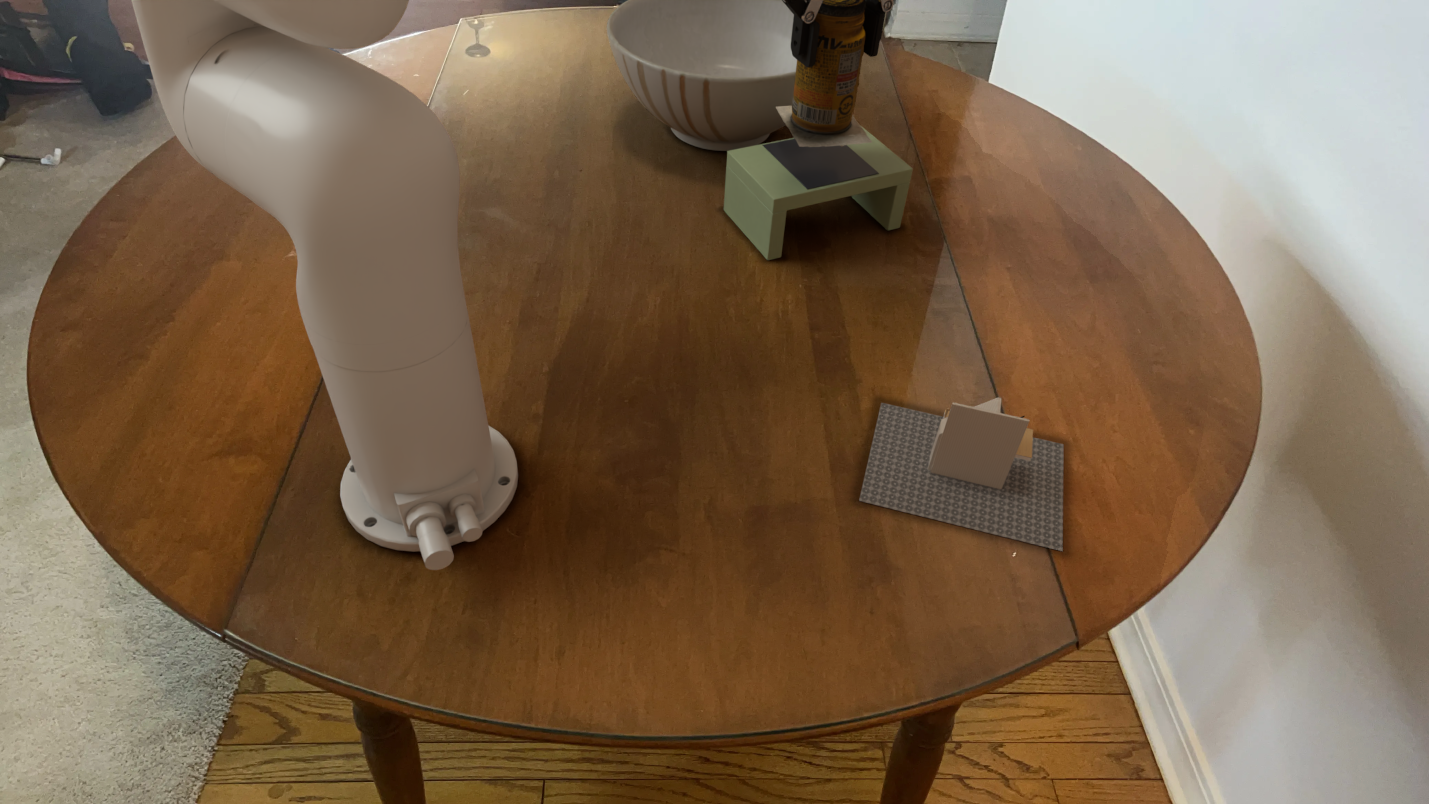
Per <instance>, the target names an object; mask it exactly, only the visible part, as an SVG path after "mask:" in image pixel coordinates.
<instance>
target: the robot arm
mask: <svg viewBox="0 0 1429 804" xmlns="http://www.w3.org/2000/svg"><path fill="white" fill-rule="evenodd" d="M130 1H131V5H132V8H133V12H134V16H135V19H136V23H137V27H138V30H139V33H140V37H141V40H142V43H143V48H144V51H145V54H146V58H147V61H148V64H149V68H150V72H151V76H152V79H153V83H154V86H155V89H156V92H157V95H158V99H159V101H160V103H161V106H162V110H163V112H164V114H165V116H166V119H167V121H168V123H169V125H170V128H171V129H172V131H173V133H174V135H175V136H176V139H177V140H178V142H179V143H180V144H181V145H182V147H183V148H184V150H185V151H186V152H187V153H188V154H189V155H190V156H191V157H192V158H193V159H194V160H195V161H196V162H197V163H198V164H199V165H200V166H202V167H203V168H204V169H205V170H206V171H208V172H209V173H210V174H212V175H214V176H215V177H216V178H217V179H218V180H220V181H222V182H223V183H224V184H226V185H228V186H229V187H231V188H232V189H233V190H235V191H237V192H238V193H240V194H241V195H242V196H244V197H245V198H247V199H249V200H250V201H251V202H252V203H254V205H256V206H257V207H259V208H260V209H262V210H263V211H265V212H266V213H268V214H269V215H271V216H272V217H273V218H274V219H276V220H277V222H278V223H280V225H282V227H283V228H285V230H286V232H287V233H288V235H289V237H290V239H291V241H292V243H293V246H294V248H295V253H296V259H297V260H296V261H297V267H296V277H295V291H296V292H295V293H296V299H297V304H298V308H299V312H300V316H301V319H302V322H303V325H304V328H305V331H306V334H307V337H308V340H309V343H310V346H311V347H312V350H313V353H314V355H315V359H316V361H317V364H318V367H319V370H320V372H321V376H322V378H323V379H322V380H323V381H324V385H325V388H326V391H327V393H328V396H329V399H330V402H331V405H332V408H333V411H334V413H335V416H336V420H337V422H338V425H339V428H340V431H341V434H342V436H343V440H344V442H345V445H346V446H345V447H346V448H347V452H348V454H349V457H350V459H349V461H348V463H347V465H346V467H345V469H344V471H343V474H342V478H341V481H340V488H339V490H340V491H339V497H340V501H341V506H342V508H343V511H344V513H345V516H346V519H347V521H348V522H349V523H350V524H351V526H352V528H354V530H355V531H356V532H357V533H358V534H360V535H361V536H362V537H363V538H365V539H366V540H368V541H370V542H372V543H374V544H376V545H378V546H379V547H383V548H387V549H390V550H395V551H402V552H403V551H404V552H413V553H414V552H420V554H421V557H422V560H423V564H424V567H425V568H426V569H428V570H430V571H440V570H443V569H445V568H447V567H449V566H450V565H451V564H452V563H453V561H454V558H455V555H454V551H453V549H452V546H455V545H458V544H460V543H462V542H467V543H470V542H475V541H477V540H479V539H480V538H481V537H482V536H483V532H484V531H485V530H486V529H487V528H489V527H490V526H491V525H493V524H494V523H495V522H496V521H497V520H498V518H500V517H501V516H502V515H503V514H504V513H505V511H506V510H507V508H508V507H509V506H510V504H511V502H512V501H513V499H514V496H515V493H516V490H517V488H518V483H519V481H518V480H519V469H518V461H517V457H516V454H515V451H514V449H513V447H512V445H511V444H510V442H509V441H508V439H507V438H506V437H505V436H504V435H503V434H502V433H501V432H500V431H498V430H497V429H495V428H494V427H492V426H490V425H489V421H488V416H487V409H486V403H485V399H484V394H483V387H482V382H481V377H480V372H479V365H478V359H477V355H476V349H475V343H474V337H473V332H472V326H471V320H470V316H469V310H468V306H467V300H466V295H465V290H464V288H465V287H464V282H463V276H462V270H461V261H460V253H459V240H458V239H459V238H458V237H459V236H458V232H459V231H458V229H459V228H458V227H459V209H460V208H459V207H460V206H459V205H460V194H461V192H460V190H461V174H460V173H461V172H460V171H461V170H460V163H459V158H458V153H457V150H456V149H457V148H456V147H455V144H454V142H453V139H452V137H451V134H450V133H449V131H448V129H447V128H446V126H445V125H444V124H443V122H442V121H441V119H440V118H439V117H438V115H437V114H436V112H434V111H433V109H431V108H430V106H428V105H427V104H426V103H425V102H424V101H423V100H421V98H419V97H418V96H417V95H416V94H414V93H413V92H411V91H410V90H409V89H408V88H406V87H405V86H403V85H402V84H400V83H398V82H397V81H395V80H393V79H392V78H390V77H389V76H386V75H385V74H382V73H380V72H379V71H377V70H375V69H373V68H371V67H369V66H367V65H365V64H363V63H360V62H359V61H357V60H354V59H353V58H352V57H349V56H347V55H345V54H342V53H340V52H338V51H334V50H355V49H361V48H365V47H367V46H370V45H373V44H375V43H377V42H379V41H380V42H381V41H382V40H383V39H385V38H386V37H387V36H389V35H390V34H391V33H392V32H393V31H394V30H395V29H396V28H397V26H398V25H399V23H400V22H401V20H402V18H403V16H404V14H405V12H406V10H407V8H408V5H409V2H410V0H130ZM782 1H783V2H784V4H785V5H786V6H787V7H788V8H789V10H790V12H792V13H793V14H794V18H793V27H792V37H791V51H792V55H793V57H795V58H796V59H797V60H798V61H799V62H801V63H802V64H803V65H804V66H806V67H807V68H808V67H813V66H814V65H815V61H816V53H817V46H818V38H819V30H820V25H819V23H818V22H817V21H815V17H816V15H817V13H818V11H819V8H820V6H821V4H822V2H823V0H782ZM865 1H866V8H865V11H864V23H863V25H862V26H863V28H864V30H865V43H864V54H865V55H867V56H868V57H870V58H873V57H877V56H878V53H879V48H880V42H881V40H882V35H883V29H884V23H885V20H886V19H885V18H886V13H888V12H890V11H891V10H893V8H894V1H895V0H865Z"/></svg>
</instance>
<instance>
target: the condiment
mask: <svg viewBox="0 0 1429 804" xmlns="http://www.w3.org/2000/svg"><path fill="white" fill-rule="evenodd" d="M865 8H866V0H823V2H822V4H821V6H820V8H819V11H818V13H817V15H816V17H815V21H817V22H818V23H819V25H820V30H819V38H818V46H817V53H816V61H815V65H814V66H813V67H808V68H807V67H806V66H804V65H803V64H802V63H801V62H799V61H798V60H797V66H796V75H795V84H794V93H793V103H792V106H778V107H776V109H777V110H778V112H779V114H780V116H781V117H782V120H783V121H784V122H785V127H787V129H788V130H789V131H790V134H791V135H792V138H794V139H795V140H796V141H797V143H798V145H799V147H806V146H808V147H821V146H825V147H827V146H841V147H842V146H844V145H849V144H861V143H872V141H871V140H870V138H869V137H868V136H867V134H866V132H865V131H864V130H863V128H864V127H863V126H862V125H861V123H859V122H858V121H857V119H856V117H855V116H854V115H853V114H854V112H855V106H856V101H857V98H858V97H857V96H858V90H859V89H858V88H859V86H860V75H861V70H862V69H861V68H862V61H863V56H864V55H865V53H864V43H865V30H864V28H863V26H862V25H863V23H864V11H865ZM860 125H861V126H862V127H863V128H862V127H861V126H860Z"/></svg>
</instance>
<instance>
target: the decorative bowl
mask: <svg viewBox="0 0 1429 804" xmlns="http://www.w3.org/2000/svg"><path fill="white" fill-rule="evenodd" d="M793 18H794V14H793V13H792V12H790V10H789V8H788V7H787V6H786V5H785V4H784V2H783V1H782V0H626V1H624V2H622V3H621V4H620V5H618V6H617V7H616V8H615V9H614V10H613V11H612V13H610V15H609V17H608V19H607V21H606V35H607V39H608V43H609V47H610V50H611V53H612V55H613V58H614V61H615V63H616V65H617V68H618V69H619V73H620V74H621V75H622V78H623V80H624V81H625V83H626V85H627V86H628V88H629V89H630V91H631V92H632V94H633V95H634V96H635V98H636V99H637V100H638V102H639V103H640V104H641V105H642V106H643V107H644V108H645V109H646V111H648V112H649V113H650V114H651V115H652V116H653V117H655V118H656V119H657V120H658V121H659V122H661V123H662V124H664V125H665V126H667V127H669V128H670V130H671V132H672V133H673V134H674V136H675V137H677V138H678V139H679V140H680V141H682V142H684V143H686V144H688V145H691V146H693V147H696V148H700V149H703V150H709V151H718V152H719V151H720V152H727V151H730V150H735V149H740V148H745V147H750V146H755V145H760V144H763V142H765V141H767V139H768V138H769V137H770V135H771V134H772V133H774V132H776V131H778V130H780V129H782V128H784V127H786V125H785V122H784V121H783V120H782V117H781V116H780V114H779V112H778V110H777V109H776V107H778V106H792V103H793V93H794V84H795V75H796V66H797V59H796V58H795V57H793V55H792V51H791V37H792V27H793Z"/></svg>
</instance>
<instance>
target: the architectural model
mask: <svg viewBox="0 0 1429 804" xmlns="http://www.w3.org/2000/svg"><path fill="white" fill-rule="evenodd" d="M1001 408H1002V397H1001V396H999V397H996V398H992V399H990V400H988V401H985V402H982V403H980V404H978V405H975V406H971V405H967V404H963V403H959V402H951V406H950V408H949V407H946V409H945V410H944V413H943V416H941V415H938V414H933V413H928V412H925V411H919V410H916V409H911V408H907V407H901V406H898V405H894V404H889V403H885V402H881V403H880V407H879V410H878V416H877V420H876V424H875V428H874V432H873V438H872V442H871V446H870V450H869V455H868V459H867V464H866V468H865V473H864V477H863V482H862V486H861V491H860V495H859V499H858V500H859V502H863V503H867V504H871V505H874V506H878V507H882V508H886V509H891V510H894V511H898V512H903V513H907V514H909V515H913V516H914V515H915V516H919V517H923V518H926V519H929V520H935V521H939V522H942V523H947V524H951V525H955V526H959V527H963V528H967V529H971V530H975V531H978V532H983V533H987V534H992V535H994V536H999V537H1003V538H1007V539H1011V540H1015V541H1019V542H1024V543H1027V544H1032V545H1035V546H1038V547H1039V546H1040V547H1044V548H1048V549H1051V550H1056V551H1060V552H1064V542H1063V541H1064V461H1065V460H1064V459H1065V458H1064V457H1065V456H1064V449H1065V445H1064V444H1063V443H1060V442H1055V441H1051V440H1047V439H1042V438H1037V437H1034V429H1033V428H1029V427H1028V426H1029V423H1030V419H1029V418H1025V415H1021V416H1017V415H1016V416H1015V415H1011V414H1007V413H1002V412H1001Z"/></svg>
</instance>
